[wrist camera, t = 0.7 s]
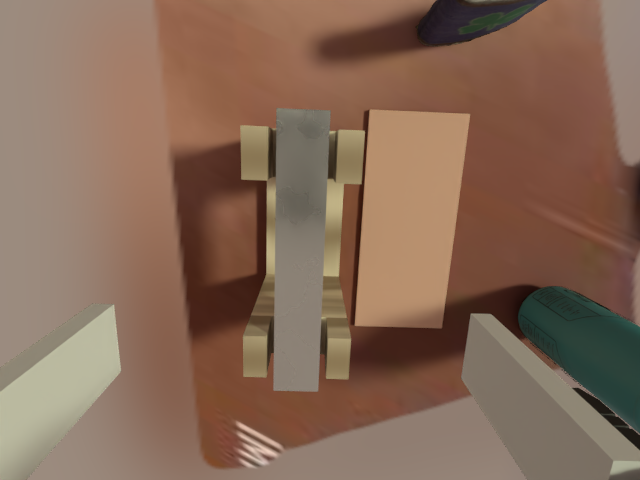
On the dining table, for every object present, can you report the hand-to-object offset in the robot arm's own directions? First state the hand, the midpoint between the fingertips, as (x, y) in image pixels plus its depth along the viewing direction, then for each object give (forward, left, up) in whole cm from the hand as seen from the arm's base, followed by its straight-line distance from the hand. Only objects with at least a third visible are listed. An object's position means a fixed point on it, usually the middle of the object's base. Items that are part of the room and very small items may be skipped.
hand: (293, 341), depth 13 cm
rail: (0, 0, -12) cm, 12 cm away
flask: (-18, +13, -22) cm, 32 cm away
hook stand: (0, 0, -22) cm, 22 cm away
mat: (0, +10, -22) cm, 24 cm away
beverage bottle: (+8, +24, -22) cm, 34 cm away
